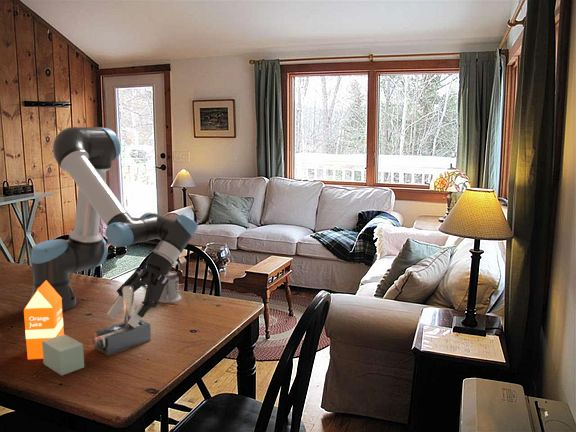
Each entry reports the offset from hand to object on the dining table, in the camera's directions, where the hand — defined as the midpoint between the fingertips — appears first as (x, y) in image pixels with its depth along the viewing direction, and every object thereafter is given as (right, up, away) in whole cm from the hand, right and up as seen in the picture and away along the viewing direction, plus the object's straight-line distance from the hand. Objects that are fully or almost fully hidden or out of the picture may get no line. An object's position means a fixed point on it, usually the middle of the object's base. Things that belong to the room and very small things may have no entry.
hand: (120, 320), depth 148 cm
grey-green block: (-11, -10, -12) cm, 19 cm away
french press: (+4, -1, +42) cm, 42 cm away
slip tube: (-1, -6, 0) cm, 6 cm away
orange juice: (-20, -8, -4) cm, 22 cm away
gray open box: (0, -7, +2) cm, 8 cm away
